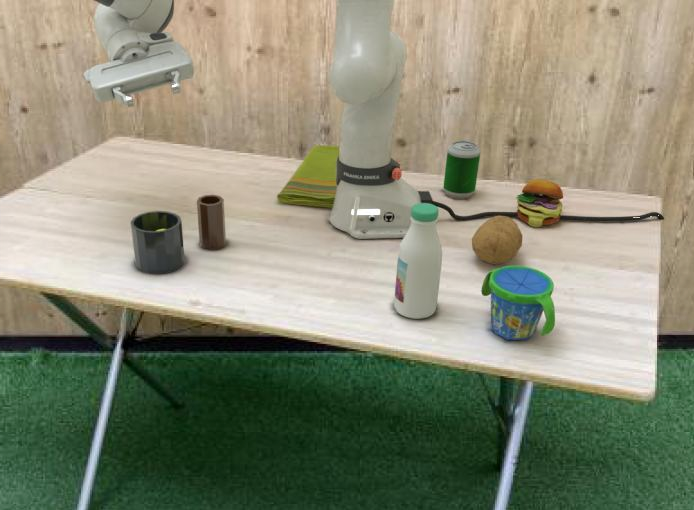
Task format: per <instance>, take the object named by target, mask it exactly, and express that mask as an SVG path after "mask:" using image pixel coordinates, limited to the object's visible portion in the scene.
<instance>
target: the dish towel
mask: <svg viewBox="0 0 694 510" xmlns="http://www.w3.org/2000/svg"><path fill="white" fill-rule="evenodd" d="M338 156H339V145H324V144H322V145H319V144H318V145H314V146H313V147H311V149H310V150H309V152H308V153H307V155H306V156H305V157H304V159H303V160H302V162H301V164H300V165H299V167H298V168H297V169H296V171H295V172H294V173H293V175H292V176H291V177H290V179H289V181H288V182H287V183H286V185H284V187H283V188H282V189H281V191H280V192H279V193H277V195H276V198H277V201H279V202H280V203H283V204H287V205H300V206H309V207H317V208H328V209H332V208H333V204H334V200H335V194H336V188H337V184H336V162H337V158H338Z"/></svg>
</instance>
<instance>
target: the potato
mask: <svg viewBox="0 0 694 510" xmlns="http://www.w3.org/2000/svg"><path fill="white" fill-rule="evenodd" d="M471 246H472V250H473V252H474V253H475V255H476V256H477V257H478V258H479V259H480V260H481V261H482V262H485V263H487V264H492V265H500V264H503V263H506V262H509V261H511V260H513V259H514V258H515V257H516V256H517V254H518V252H519V251H520V249H521V247H522V246H523V233H522V231H521V229H520V228H519V226H518V224H517V222H516V221H515V220H514V219H513V218H511V217H510V216H499V215H498V216H491V217H490V218H488V219H487V220H486V221H485V222H483V223H482V224H481V225H480V226H479V227H478V228H477V229H476V230H475V233H474V234H473V235H472V238H471Z"/></svg>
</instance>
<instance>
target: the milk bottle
mask: <svg viewBox="0 0 694 510" xmlns="http://www.w3.org/2000/svg"><path fill="white" fill-rule="evenodd" d="M439 211H440V210H439V207H436V206H435V205H433V204H429V203H418V204H415V205H413V206H412V208H411V218H410V219H411V221H412V222H411V225H410V228H409V230H408V232H407V234H406V235H405V237H404V238H402V241H401V243H400V244H399V245H400V246H399V249H398V254H397V263H396V264H397V265H396V274H395V275H396V276H395V277H396V278H395V287H394V297H393V298H394V299H393V307H394V309H395V311H396V312H397V314H399V315H401V316H403V317H404V318H409V319H416V320H417V319H418V320H419V319H425V318H429V317H431V316H433V315H434V313H436V310H437V306H438V298H439V290H440V282H441V273H442V265H443V264H442V263H443V246H442V242H441V239H440V236H439V234H438V229H437V222H438V218H439V213H440V212H439Z"/></svg>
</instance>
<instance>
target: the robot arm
mask: <svg viewBox="0 0 694 510" xmlns="http://www.w3.org/2000/svg"><path fill="white" fill-rule="evenodd" d="M93 1H95V2H96V3H98V5H97V7H96V8H95V10H94V14H93V15H94V16H93V26H94V30H95V33H96V36H97V38H98V42H99V43H100V46H101V47H102V49H103V51H105V55H106V57H107V60H108V61H107V62H104V63H99V64H97V65H93V66H90V67H88V69H87V70H85V71H84V72H83V78H84V80H85V82H86V83H87V84H89V85H90V87H91V90H92V94H93V97H94V100H95V101H96V102H98V103H101V104H103V103H108V102H110V101H114V100H115V101H116V102H118V103H120V104H122V105H124V107H125V108H126V109H129V108H131V107H134V105H135V104H134V101H133V98H132V97H131V96H132V95H136V94H139V93H143V92H146V91H149V90H153V89H156V88H160V87H163V86H167V85H169V86H170V91H171V93H172V94H173V95H177V94H181V93H182V89H181V84H182V81H184V80H188V79H192V78H193V77H194V75H195V66H194V62H193V59H192V57H191V56H190V54H189V53H188V51H187V50H186V49H185V47H184V46H183V45H182V44H180V42H177V41H175V39H174V36H173V35H172V33H171V32H167V31H166V32H165V30H166V28H167V27H168V26H169V24H170V23H171V21H172V20H173V16H174V12H175V0H93ZM335 5H336V8H335V12H336V13H335V26H334V27H335V28H334V39H333V41H334V42H333V56H332V62H331V67H330V70H329V75H328V76H329V77H328V78H329V79H328V80H329V85H330V89H331V90H332V92H333V94H334V95H335V96H336V97H337V98H338V99H339V100H340V101H342V102H344V108H343V112H342V115H341V117H340V121H339V141H338V146H339V156H338V158H337V162H336V184H337V188H336V194H335V200H334V204H333V208H331V211H330V213H329V217H328V221H329V223H330V224H331V225H332V226H333V227H334V228H337V229H338V230H340V231H343V232H345V233H348V235H350V236H351V237H352V238H355V239H356V240H357V239H358V240H362V239H363V240H365V239H366V240H367V239H370V240H371V239H404V237H405V235H406V234H407V232H408V230H409V228H410V225H411V222H412V221H411V219H410V218H411V208H412V206H413V205H415V204H418V203H429V204H433V205H435V206H436V207H437V208H440V209H442V210H445V211H447V213H448V214H449V216H450V217H451V218H452V219H454V220H455V221H456V220H457V221H472V220H478V219H481V218H487V217H495V216H498V215H499V216H507V217H509V218H511V217H514V218H519V217H518V213H517V211H484V212H478V213H475V214H470V215H465V216H464V215H458V214H456V213H455V211H454V210H453V209H452V208H451V207H450V206H449V205H446V204H444V203H442V202H439V201H435V200H433V197H432V195H431V193H430V191H429V190H418V189H416V188H415V187H414V186H413V185H411V184H410V183H408V181H406V180H404V178H403V177H402V173H403V171H402V169H401V164H400V162H399V161H400V160H399V159H398V158H396V160H395V159H394V158H393V157H392V149H393V136H394V125H395V120H396V114H397V109H398V104H399V101H400V100H399V99H400V94H401V89H402V83H403V78H404V77H403V76H404V71H405V66H406V61H407V58H408V51H407V45H406V44H405V41H404V40H403V38H402V37H401V36H400V34H398V33H396V32H394V31H393V30H391V24H392V16H393V10H394V5H395V0H335ZM658 215H659V216H658ZM650 216H652V217H650ZM633 217H640V218H633ZM653 217H655V218H657V219H658V220H662V221H664V220H665V217H664V215H662V213H660V212H657V211H651V212H647V213H645V214H641V215H629V216H583V215H567V214H566V215H564V214H560V218H559V221H578V222H632V221H643V220H645V219H650V218H653Z"/></svg>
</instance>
